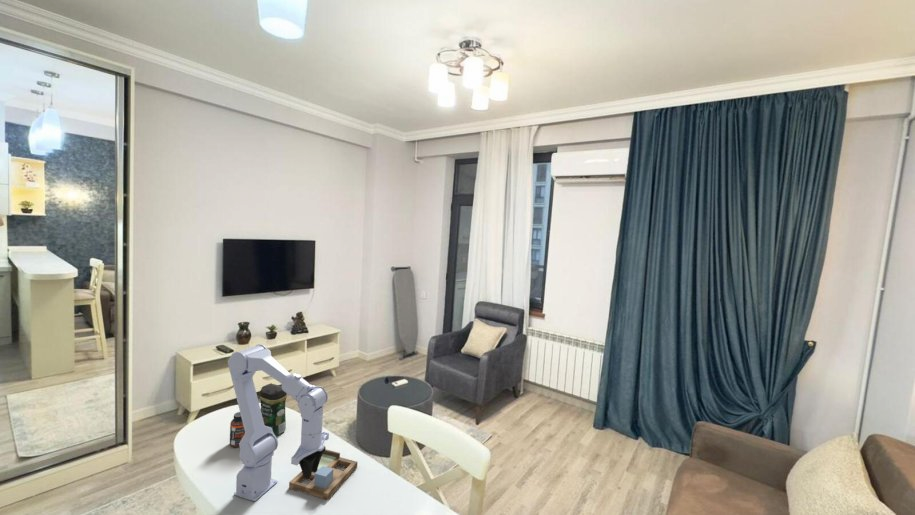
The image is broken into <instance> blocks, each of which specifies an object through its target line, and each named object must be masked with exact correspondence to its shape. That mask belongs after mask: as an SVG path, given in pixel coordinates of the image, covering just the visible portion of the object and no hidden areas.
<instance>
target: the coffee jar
mask: <svg viewBox="0 0 915 515" xmlns="http://www.w3.org/2000/svg"><path fill="white" fill-rule="evenodd" d="M287 397H288V394H287V393H286V392H284V391H283V390H282V385H278V384H275V383H271V382H270V383H268V384H266V385H263V386H261V388H260V392H259V400H260V409H261V413H262V417H263V421H264V425H265V426H267V427H271V428H272V430H273V433H274V435H275V436H276V437H278V436H279V435H281V434H283V433H284V432H285V431H286V429H287V426H286V425H287V423H286V422H287V420H286V418H287V417H286V401H287Z"/></svg>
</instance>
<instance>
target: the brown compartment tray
mask: <svg viewBox="0 0 915 515" xmlns="http://www.w3.org/2000/svg"><path fill="white" fill-rule="evenodd" d="M358 464H359V463H358V461H356V460H352V459H349V458H345V457H341V452H338V451H334V450H331V449H330V450H329V449H327V448H326V449H325V451H324V453H323V455H322V457H321V459H320V462H319V466H318V469H317V471H318V470H319V469H320V468H321V467H322V466H325V467H328V468H332V469H333V481H332V482H331V483H330V484H329V485H328V486H327V488H326V489H324V488H321V487H317V486H314V476H315V473H314V472H312V474H311V477H310V478H309V479H308V478H305V477H303V473H302V470H301V471H300V472H299V473H298V474H297V475H296V476H294V477H293V478H292V479H291V480H289V482H288V484H289V485H288V486H289V487H288V489H290V490H294V491H296V492H300V493H304V494H306V495H310V496H313V497H316V498H320V499H324V500H327V501H328V500H329V499H330V498H331V496H332V495H334V493H335V492H337V491H338V489H339V488H340V487H341V486H342V485H343V484H344V483H345V481H346V480H348V478H349V477H350V476H351V475H352V474H353V473H354V471H355V470H356V469H357V468H358ZM338 466H339V467H343V468H345V469H344V470H342V469H338V468H337V467H338ZM346 467H347V468H346ZM352 472H353V473H352ZM304 480H308V481H310V482H309V483H308V484H305V483H303V482H304Z"/></svg>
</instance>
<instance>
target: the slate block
mask: <svg viewBox="0 0 915 515" xmlns="http://www.w3.org/2000/svg"><path fill="white" fill-rule="evenodd" d="M332 481H333V469H332V468H328V467H325V466H322V467H321V468H320V469H319V470H318V471H317V472H316V473H315V476H314V486H317V487H321V488H324V489H326V488H327V486H328V485H329V484H330V483H331V482H332Z"/></svg>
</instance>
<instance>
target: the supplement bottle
mask: <svg viewBox="0 0 915 515" xmlns="http://www.w3.org/2000/svg"><path fill="white" fill-rule="evenodd" d="M229 424H230V425H229V426H230V427H229V445H230V447H233V448H240V446H239V443H240V441H241V439H242V438H243V436H244V434H245V429H244V425H243V421H242V417H241V414H240V411H237V412H235V413H233V418H232V420H230V423H229Z"/></svg>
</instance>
